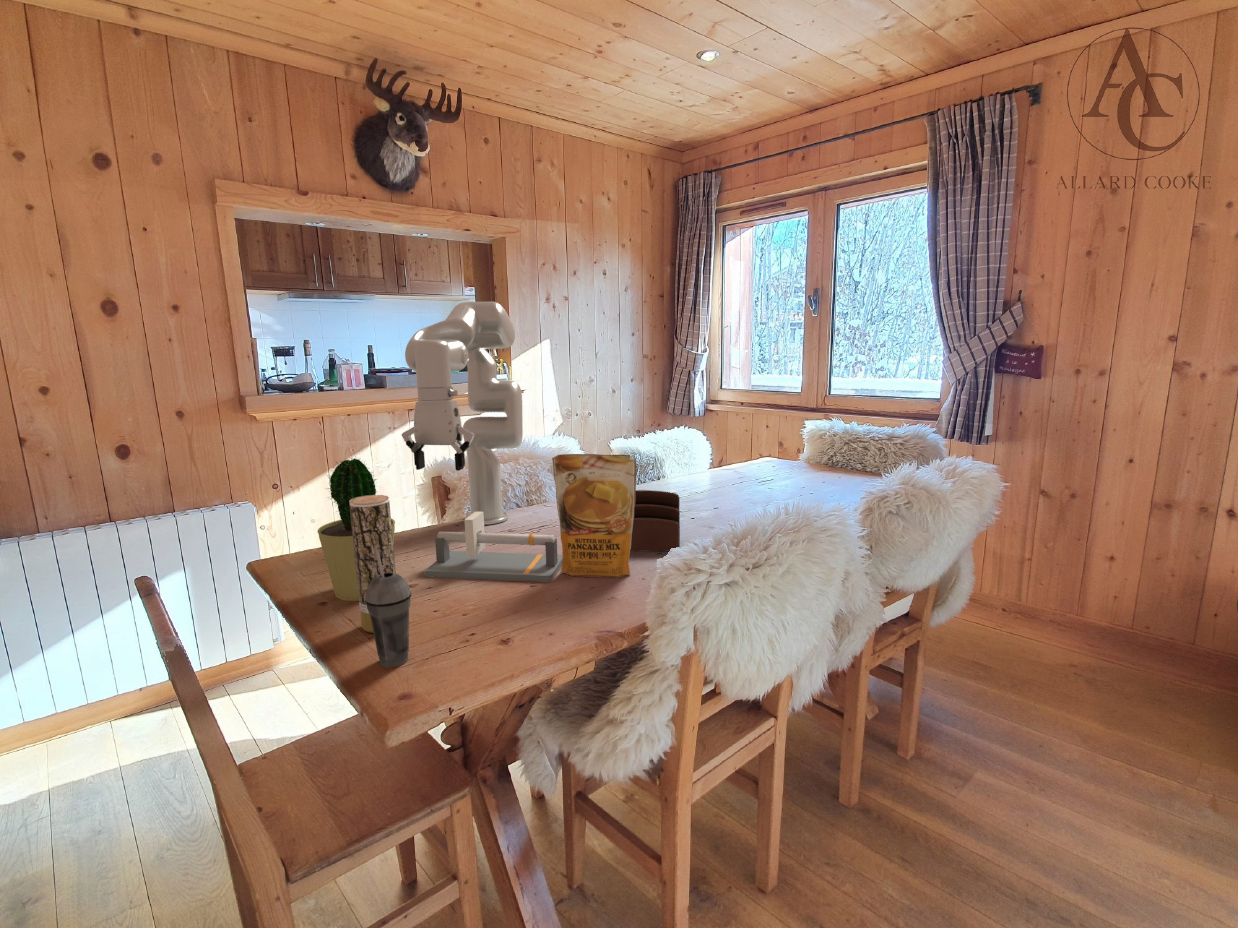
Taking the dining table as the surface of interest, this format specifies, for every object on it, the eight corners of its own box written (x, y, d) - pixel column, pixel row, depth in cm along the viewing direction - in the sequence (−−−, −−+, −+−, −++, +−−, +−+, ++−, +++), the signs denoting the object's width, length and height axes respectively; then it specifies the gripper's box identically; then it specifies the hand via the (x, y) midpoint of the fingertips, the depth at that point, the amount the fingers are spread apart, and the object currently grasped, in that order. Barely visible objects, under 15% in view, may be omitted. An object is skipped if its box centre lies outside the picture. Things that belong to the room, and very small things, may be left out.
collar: (477, 546, 149) (475, 511, 148) (485, 547, 149) (483, 511, 147) (466, 556, 142) (464, 519, 141) (474, 556, 142) (472, 519, 140)
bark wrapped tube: (387, 635, 112) (375, 505, 108) (354, 632, 114) (341, 503, 109) (406, 619, 119) (396, 495, 114) (375, 617, 120) (363, 494, 115)
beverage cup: (424, 660, 103) (415, 548, 100) (382, 676, 98) (371, 559, 95) (404, 646, 109) (395, 538, 105) (363, 661, 103) (352, 549, 100)
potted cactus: (391, 572, 144) (380, 447, 138) (408, 594, 131) (396, 457, 126) (320, 586, 136) (305, 454, 130) (330, 611, 123) (314, 466, 117)
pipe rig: (449, 556, 155) (447, 523, 153) (565, 560, 151) (563, 526, 149) (424, 576, 141) (422, 540, 139) (551, 582, 137) (549, 544, 135)
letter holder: (607, 538, 168) (606, 489, 165) (679, 540, 166) (679, 489, 163) (603, 550, 158) (602, 498, 155) (679, 552, 156) (680, 498, 153)
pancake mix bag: (559, 566, 147) (555, 452, 142) (637, 568, 145) (637, 452, 139) (552, 576, 140) (548, 457, 135) (634, 579, 138) (634, 458, 133)
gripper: (477, 394, 141) (481, 466, 144) (407, 394, 143) (413, 465, 147) (464, 396, 133) (469, 473, 137) (391, 396, 136) (397, 471, 139)
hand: (440, 469), depth 142 cm, fingers open, 9 cm apart
